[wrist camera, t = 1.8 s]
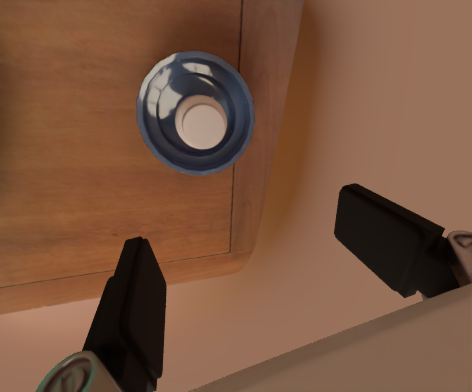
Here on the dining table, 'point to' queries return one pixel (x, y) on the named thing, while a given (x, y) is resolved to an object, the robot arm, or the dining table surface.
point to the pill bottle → (200, 121)
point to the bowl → (180, 86)
